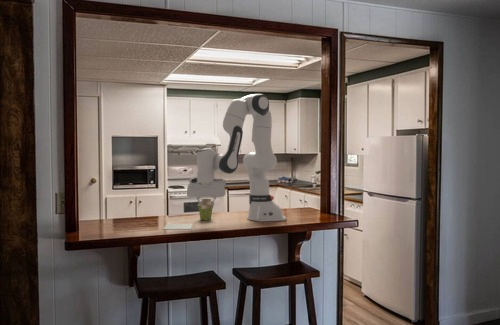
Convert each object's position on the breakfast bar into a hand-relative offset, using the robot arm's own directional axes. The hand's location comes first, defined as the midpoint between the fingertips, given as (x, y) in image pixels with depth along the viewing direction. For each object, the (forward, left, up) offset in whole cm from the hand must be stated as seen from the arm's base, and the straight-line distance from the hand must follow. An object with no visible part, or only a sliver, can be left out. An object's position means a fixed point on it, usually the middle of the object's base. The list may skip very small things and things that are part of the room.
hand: (206, 205), depth 225 cm
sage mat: (+15, +2, -11) cm, 18 cm away
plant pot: (+2, -19, -11) cm, 22 cm away
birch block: (0, 0, -2) cm, 2 cm away
